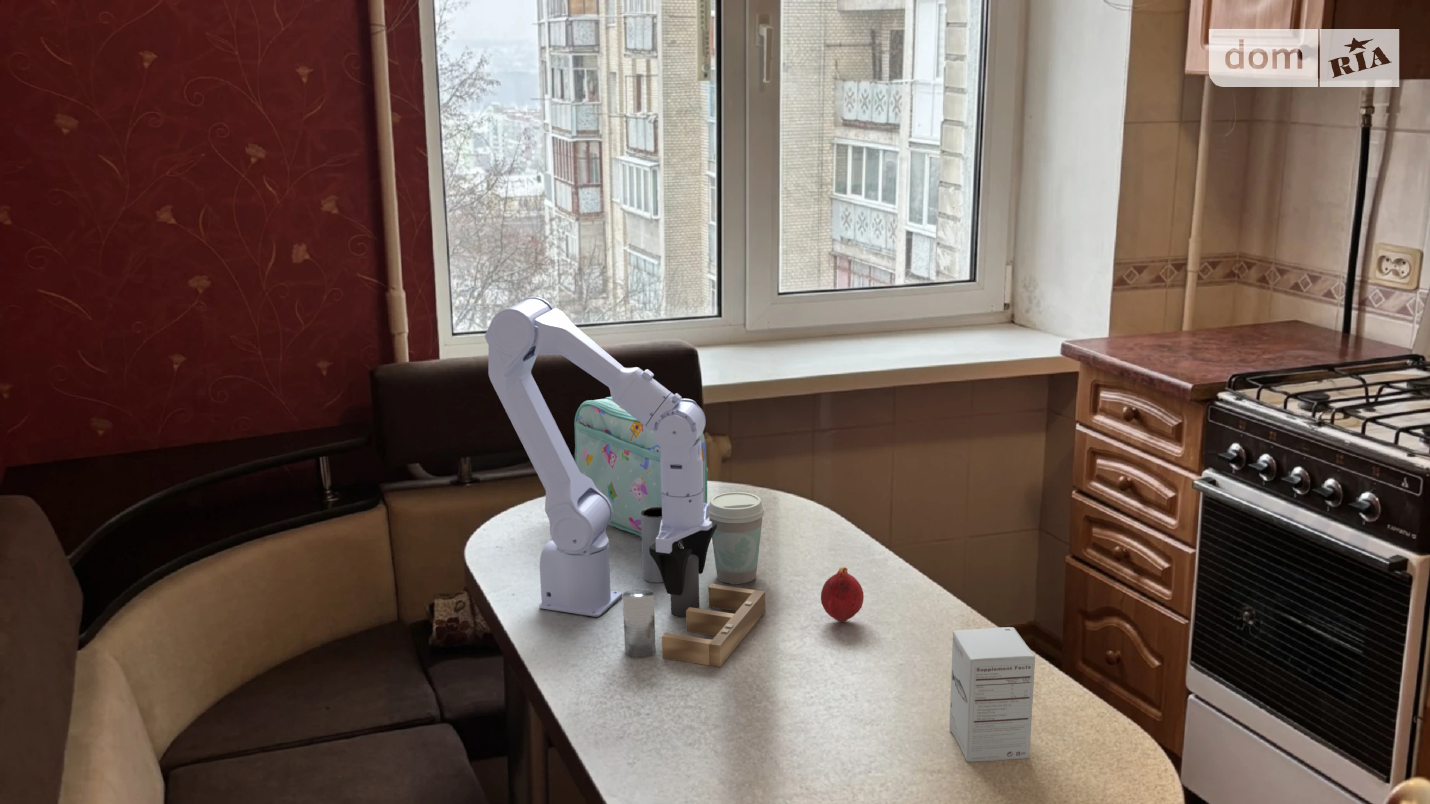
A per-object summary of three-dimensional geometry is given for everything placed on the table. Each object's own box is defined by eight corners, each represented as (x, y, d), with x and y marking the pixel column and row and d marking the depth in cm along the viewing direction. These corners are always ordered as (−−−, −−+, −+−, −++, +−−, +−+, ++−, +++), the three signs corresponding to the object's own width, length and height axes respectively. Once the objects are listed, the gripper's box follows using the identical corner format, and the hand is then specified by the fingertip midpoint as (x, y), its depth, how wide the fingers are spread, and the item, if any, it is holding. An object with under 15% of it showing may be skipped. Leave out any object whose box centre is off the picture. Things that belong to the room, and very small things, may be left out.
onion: (861, 632, 170) (861, 577, 168) (818, 629, 171) (818, 574, 169) (865, 614, 175) (865, 560, 173) (823, 611, 177) (823, 558, 174)
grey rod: (619, 655, 165) (617, 598, 163) (632, 642, 168) (630, 586, 166) (648, 660, 163) (646, 602, 161) (660, 646, 167) (658, 590, 165)
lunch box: (564, 512, 217) (558, 391, 211) (612, 497, 223) (607, 379, 218) (666, 554, 198) (662, 422, 192) (715, 537, 204) (712, 409, 199)
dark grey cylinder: (666, 615, 176) (664, 562, 174) (677, 604, 180) (676, 551, 178) (693, 619, 175) (691, 565, 173) (703, 608, 178) (702, 555, 176)
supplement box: (947, 729, 146) (951, 628, 142) (1010, 725, 146) (1015, 625, 143) (965, 764, 139) (969, 658, 135) (1031, 759, 139) (1037, 655, 136)
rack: (662, 657, 164) (661, 635, 163) (711, 603, 180) (711, 582, 179) (720, 667, 161) (719, 644, 160) (765, 611, 177) (765, 590, 176)
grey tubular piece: (677, 572, 190) (676, 508, 188) (666, 584, 186) (664, 518, 184) (649, 569, 192) (647, 505, 189) (638, 581, 188) (636, 515, 185)
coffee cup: (699, 583, 187) (697, 506, 183) (720, 561, 194) (719, 487, 191) (753, 591, 183) (752, 513, 180) (773, 569, 191) (772, 494, 188)
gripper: (689, 511, 164) (692, 607, 168) (728, 476, 177) (730, 566, 181) (639, 505, 167) (643, 600, 171) (682, 471, 180) (684, 560, 184)
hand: (685, 582), depth 176 cm, fingers open, 7 cm apart
